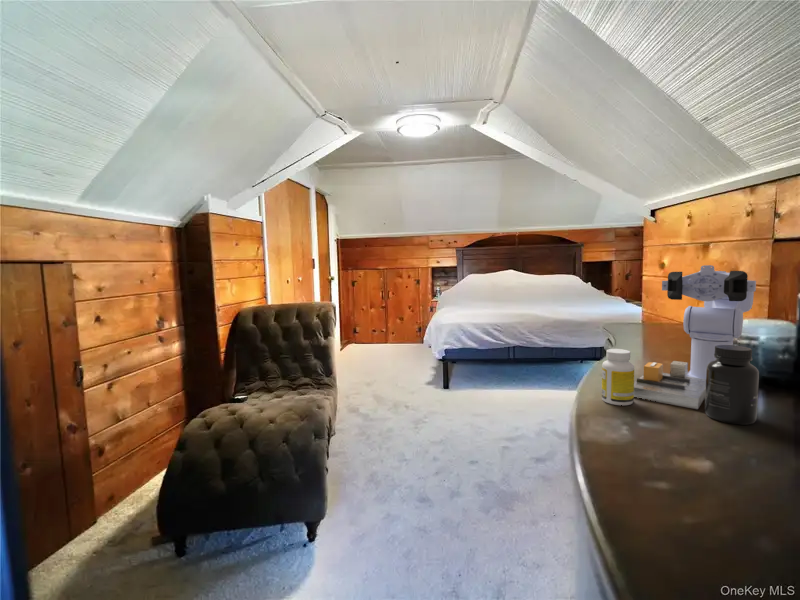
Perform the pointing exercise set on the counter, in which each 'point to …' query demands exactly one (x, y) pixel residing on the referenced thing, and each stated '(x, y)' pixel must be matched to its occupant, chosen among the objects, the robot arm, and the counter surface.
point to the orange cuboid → (653, 371)
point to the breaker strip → (673, 387)
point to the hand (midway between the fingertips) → (699, 285)
